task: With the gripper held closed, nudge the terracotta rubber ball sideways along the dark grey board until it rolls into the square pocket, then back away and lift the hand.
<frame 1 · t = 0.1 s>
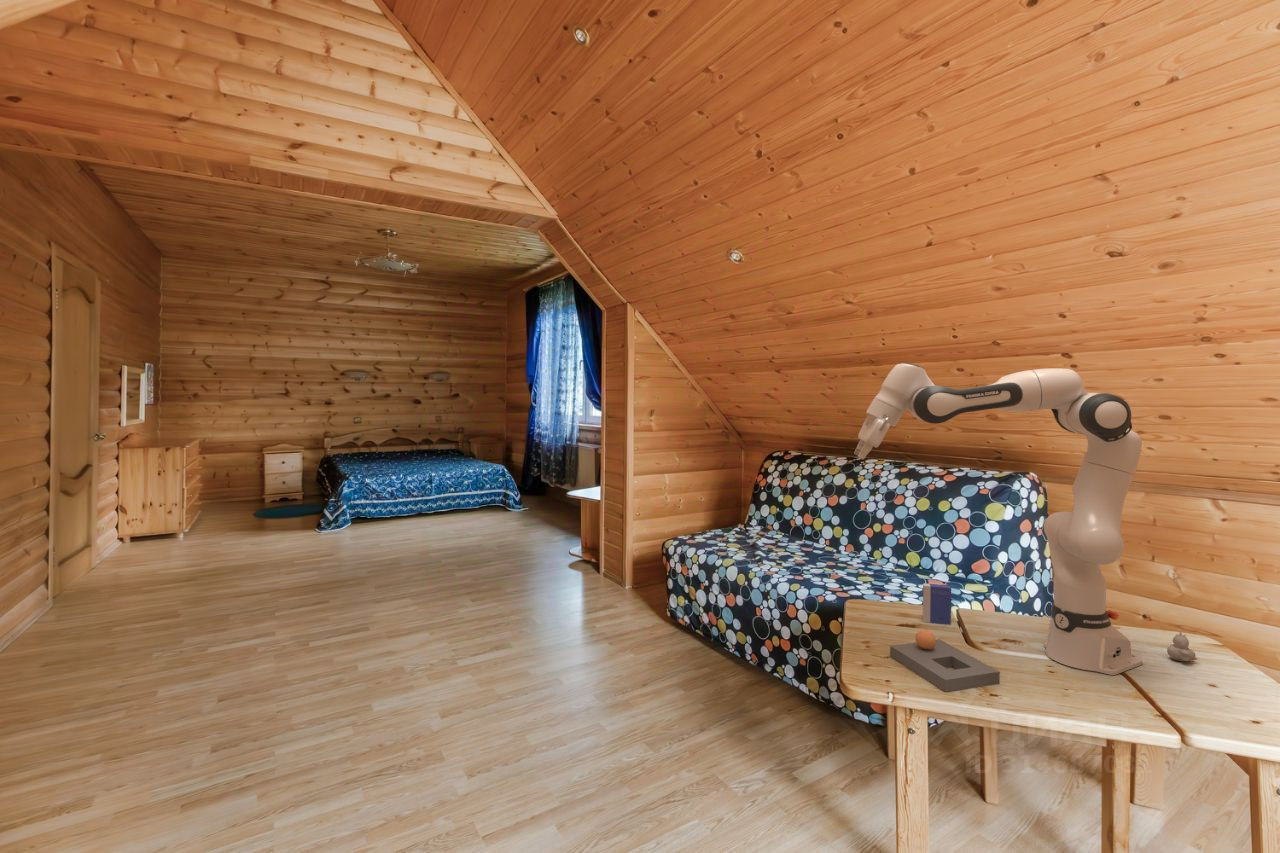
hand: (858, 456, 166), 54 cm above the table, fingers open, 8 cm apart
ball: (925, 639, 156), point 5 cm above the table, touching pocket board
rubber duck: (1181, 662, 153), on the table
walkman: (936, 622, 182), on the table
pocket board: (942, 669, 150), on the table
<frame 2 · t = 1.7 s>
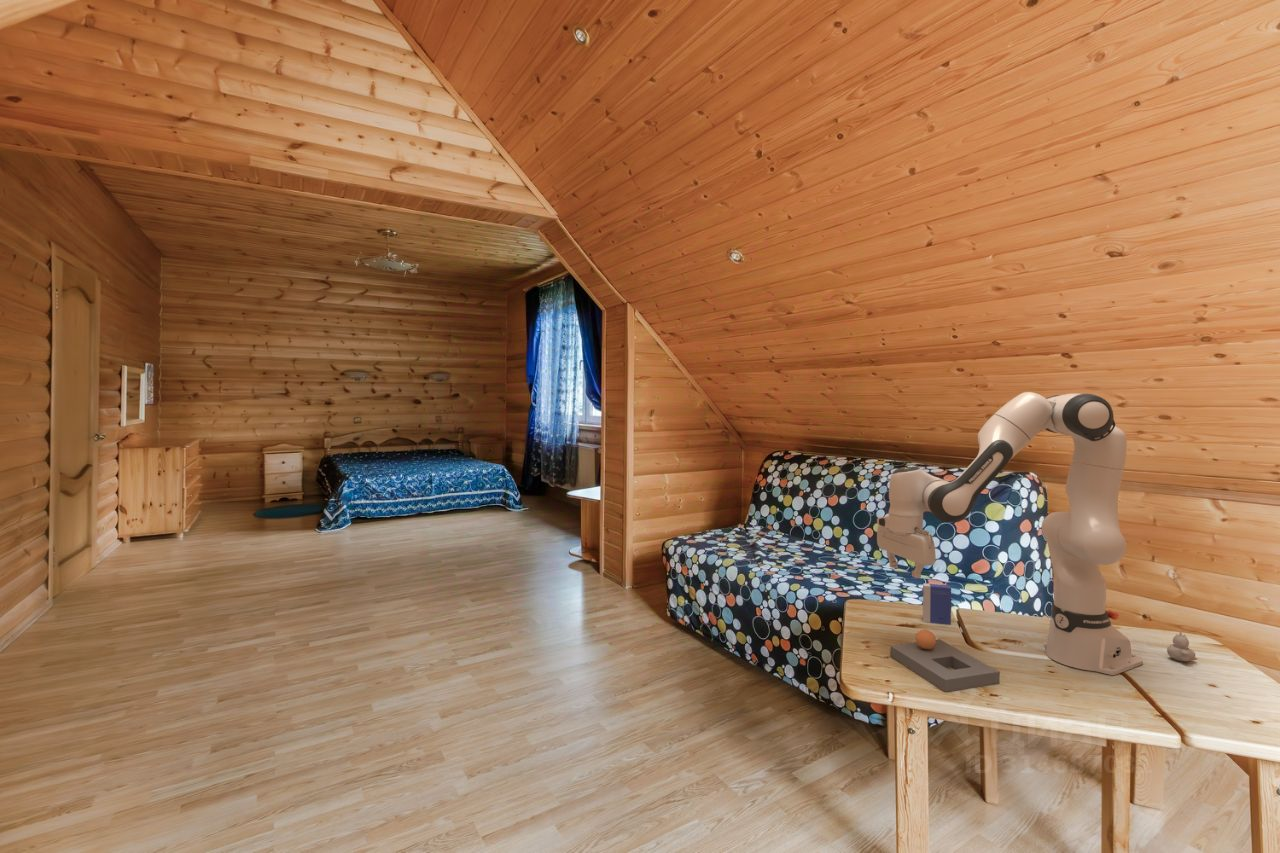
hand: (904, 572, 163), 22 cm above the table, fingers open, 8 cm apart
nothing on the table moved.
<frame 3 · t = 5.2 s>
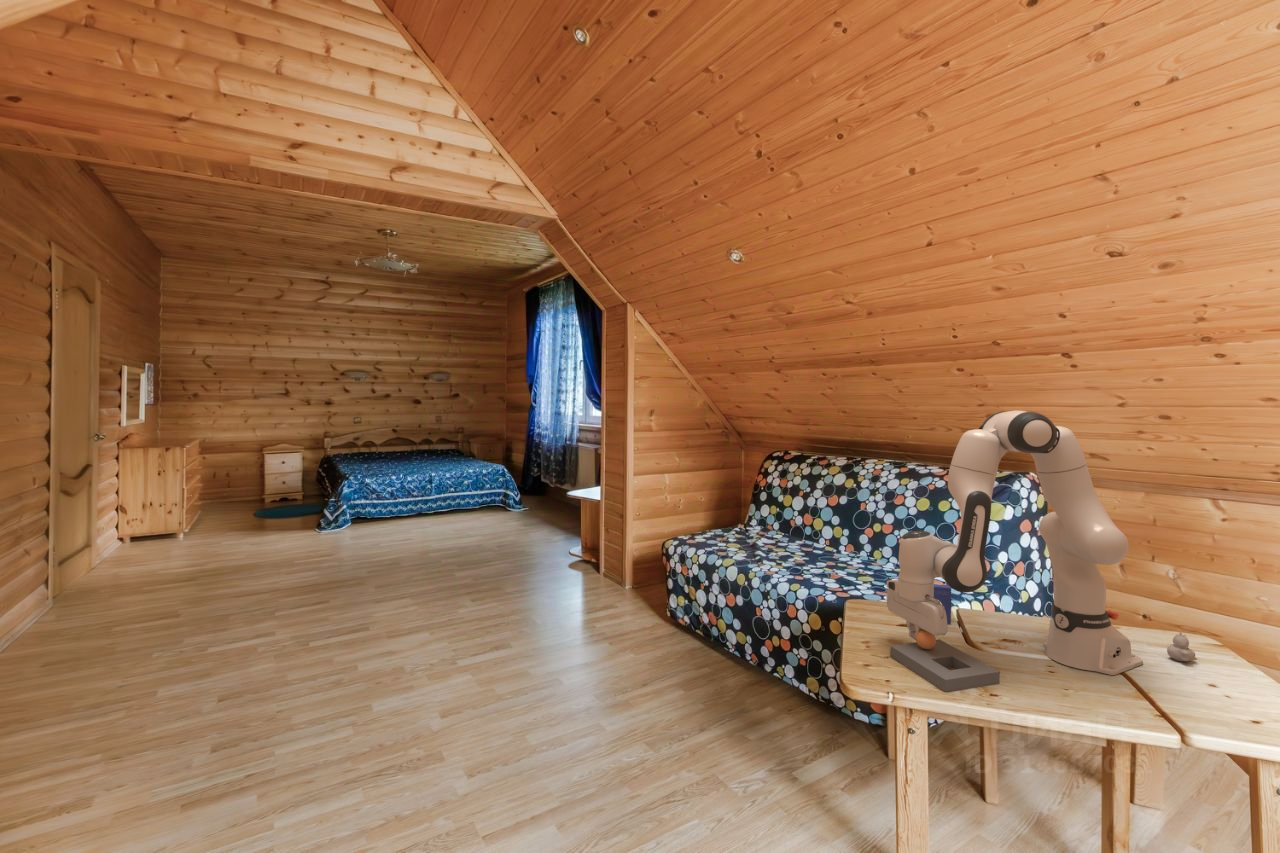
hand: (915, 638, 160), 4 cm above the table, fingers closed
ball: (925, 639, 156), point 5 cm above the table, touching gripper, pocket board
everything else where it was.
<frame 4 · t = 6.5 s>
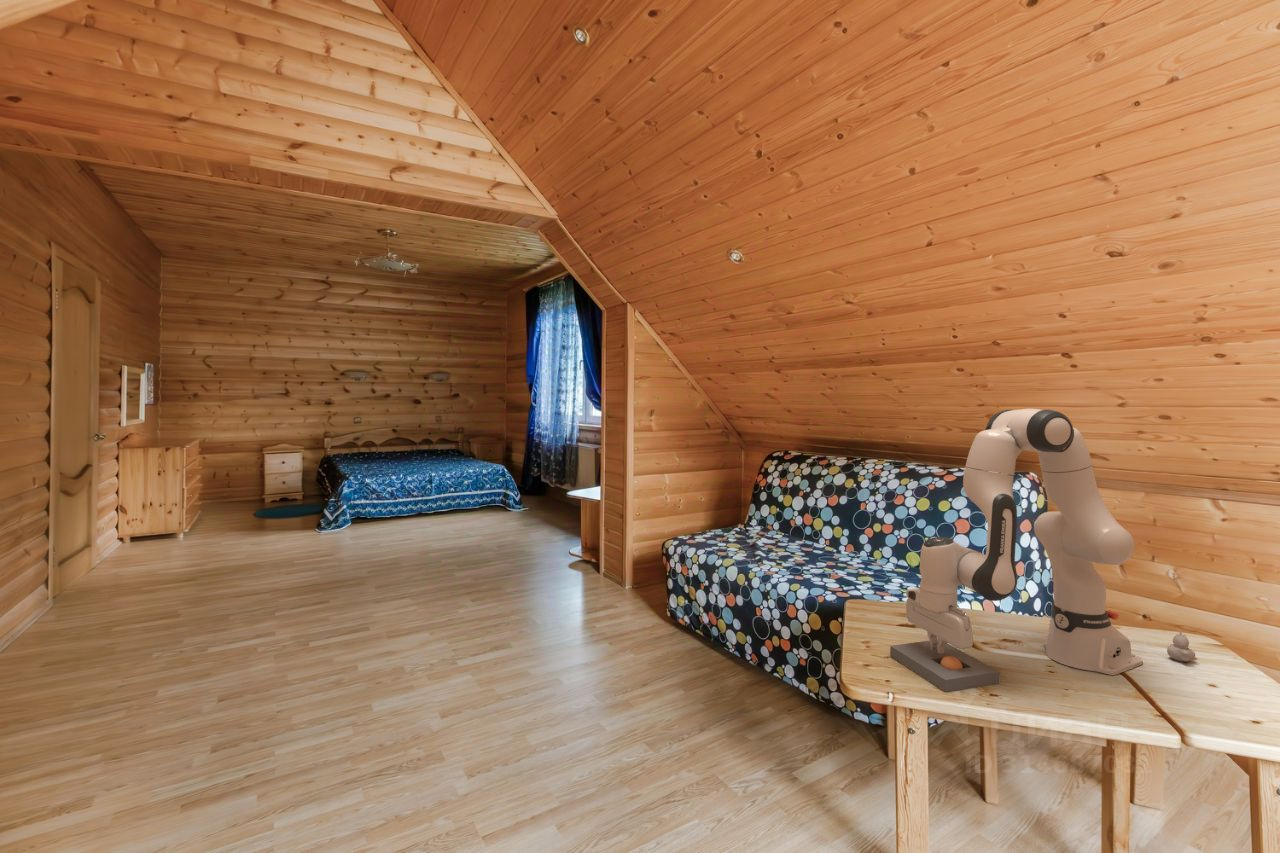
hand: (937, 651, 152), 4 cm above the table, fingers closed
ball: (951, 666, 146), point 2 cm above the table, tilted 111°
everything else where it was.
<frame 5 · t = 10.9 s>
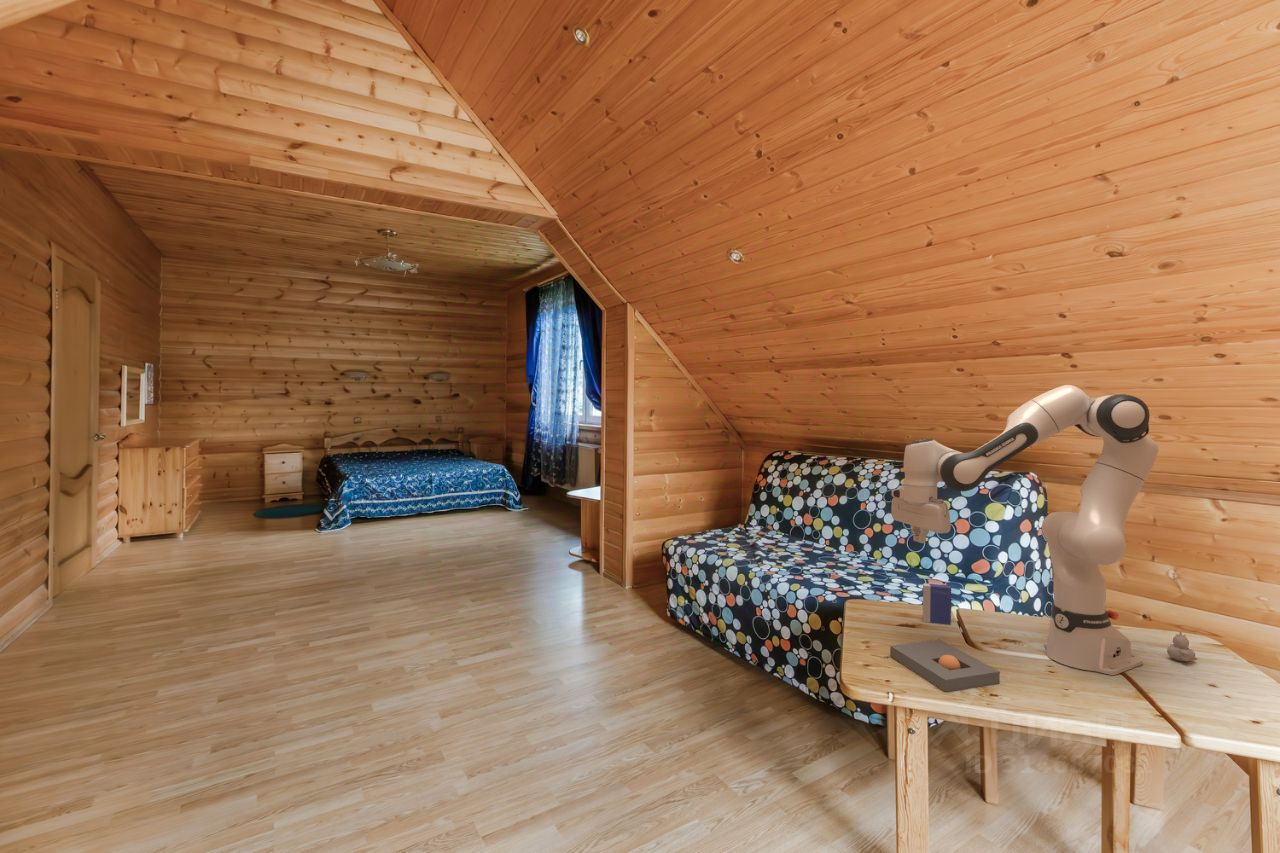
hand: (919, 541, 167), 29 cm above the table, fingers closed
ball: (949, 665, 147), point 2 cm above the table, tilted 128°
everything else where it was.
at the end: ball 0.5 cm from the target spot on the pocket board, point 2.5 cm above the pocket board's base; ball touching table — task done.
